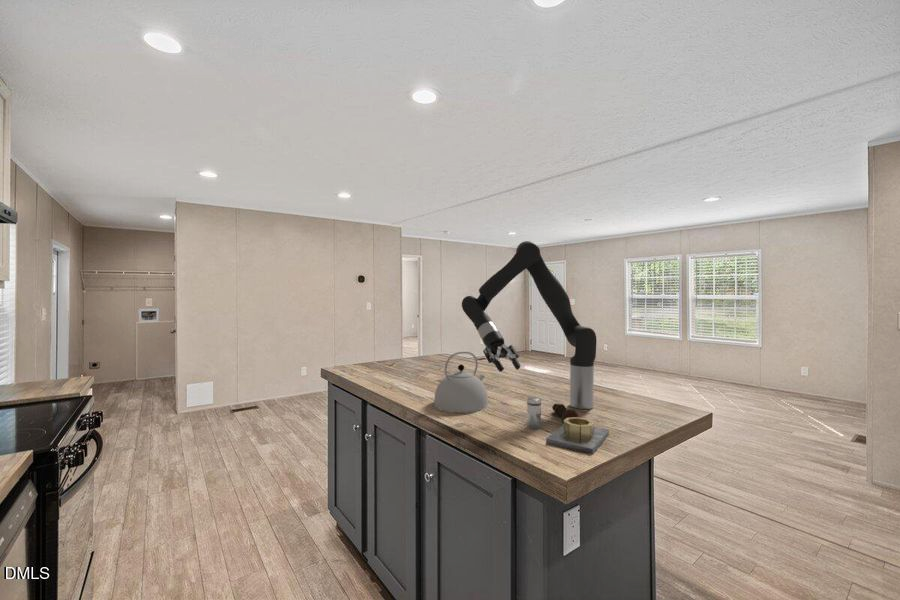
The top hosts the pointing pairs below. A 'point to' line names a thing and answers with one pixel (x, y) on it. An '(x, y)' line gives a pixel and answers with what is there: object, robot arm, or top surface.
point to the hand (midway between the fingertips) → (510, 369)
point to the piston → (533, 413)
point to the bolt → (563, 411)
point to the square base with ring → (578, 435)
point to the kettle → (461, 390)
